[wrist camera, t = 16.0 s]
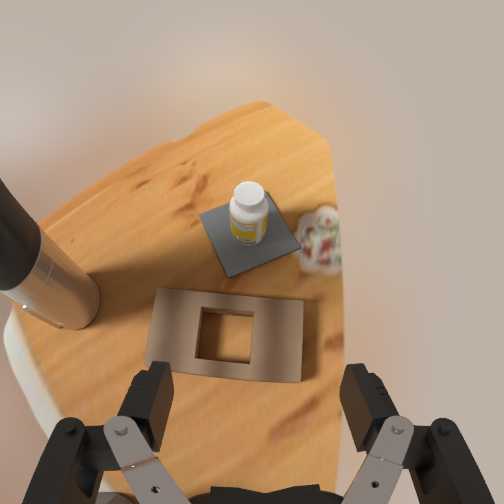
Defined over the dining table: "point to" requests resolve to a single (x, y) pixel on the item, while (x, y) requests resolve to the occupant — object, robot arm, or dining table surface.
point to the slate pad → (243, 256)
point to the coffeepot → (111, 499)
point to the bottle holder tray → (196, 303)
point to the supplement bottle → (248, 213)
